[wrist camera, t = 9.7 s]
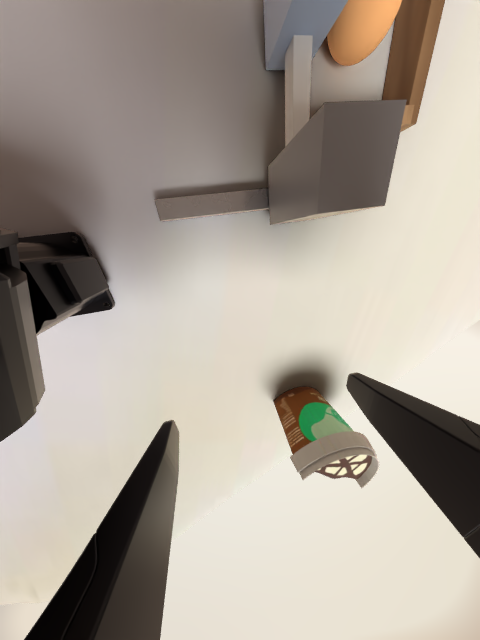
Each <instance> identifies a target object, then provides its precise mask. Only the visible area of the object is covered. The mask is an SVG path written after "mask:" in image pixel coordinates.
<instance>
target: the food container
mask: <svg viewBox="0 0 480 640" xmlns="http://www.w3.org/2000/svg"><path fill="white" fill-rule="evenodd" d="M273 402H274V404H275V407H276V410H277V412H278V415H279V418H280V421H281V423H282V426H283V429H284V432H285V434H286V437H287V440H288V443H289V445H290V448H291V451H292V454H293V455H292V456H291V457H290V458H291V460H292V462H293V464H294V466H295V468H296V469H297V472H299V473H300V475H301V477H302V479H303V480H304V479H305V478H307V477H308V476H309V475H311V474H312V473H314V472H318V473H321V474H323V475H325V476H328V477H330V478H334V479H335V478H341V477H348V478H354V479H356V481H357V482H358V484H359V485H360V487H361V488H363V487H364V486H365V485H367V483H369V481H371V480H372V478H373V477H374V476H375V475H376V473H377V471H378V469H379V461H378V459H377V457H376V453H375V451H374V449H373V448H372V446H371V444H370V443H369V441H368V439H367V438H366V437H365V436H364V435H363V434H361V433H358V432H354V431H353V430H352V429H351V428H350V426H349V425H348V424H347V423H346V422H345V421H344V420H343V419H342V418H341V416H340V415H339V414H338V413H337V412H336V411H335V410H334V409H333V408H332V406H331V405H330V404H329V403H328V402H327V401H326V400H325V399H324V398H323V396H322V395H321V394H320V393H319V392H318V391H317V390H316V389H314V388H312V387H307V386H303V387H297V388H293V389H291V390H288V391H286V392H285V393H283V394H281V395H280V396H279V397H278V398H276V399H275V400H274V401H273Z"/></svg>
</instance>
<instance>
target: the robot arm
mask: <svg viewBox="0 0 480 640" xmlns="http://www.w3.org/2000/svg"><path fill="white" fill-rule="evenodd" d="M74 236H76V237H77V238H78V242H75V240H74ZM108 288H109V286H108V284H107V281H106V279H105V277H104V275H103V273H102V271H101V268H100V266H99V264H98V262H97V260H96V259H95V258H94V257H93V256H92V254H91V252H90V249H89V247H88V245H87V243H86V241H85V239H84V237H83V236H82V235H81V234H79V233H76V232H68V233H59V234H50V235H42V236H33V237H25V238H18V233H17V232H15V231H11V230H7V229H3V228H0V442H1V441H2V440H4V439H5V438H6V437H8V436H9V435H11V434H12V433H13V432H15V431H16V430H18V429H19V428H20V427H22V426H23V425H24V424H25V423H26V422H27V421H28V420H29V419H30V418H31V417H32V416H33V415H34V414H35V413H36V406H37V405H38V404H39V402H40V400H41V398H42V396H43V394H44V392H45V386H44V379H43V373H42V367H41V361H40V355H39V349H38V343H37V337H36V336H37V335H38V334H40V333H42V332H44V331H45V330H47V329H49V328H51V327H52V326H54V325H56V324H58V323H59V322H61V321H63V320H65V319H66V318H68V317H71V316H76V315H82V314H88V313H94V312H100V311H105V310H110V309H112V308H113V307H114V305H115V304H114V301H113V299H112V297H111V294H110V292H109V290H108ZM105 302H107V303H109V304H110V306H107V305H106V303H105ZM346 386H347V389H348V391H349V392H350V394H351V395H352V397H353V398H354V400H355V401H356V403H357V404H358V406H359V407H360V409H361V410H362V411H363V413H364V415H365V416H366V417H367V419H368V420H369V421H370V423H371V424H372V425H373V426H374V428H375V429H376V430H377V431H378V433H379V434H380V435H381V436H382V437H383V439H384V440H385V441H386V442H387V444H388V445H389V446H390V447H391V449H392V450H393V451H394V452H395V454H396V455H397V456H398V457H399V459H400V460H401V461H402V462H403V464H404V465H405V466H406V467H407V468H408V470H409V471H410V472H411V473H412V475H413V476H414V477H415V478H416V480H417V481H418V482H419V483H420V485H421V486H422V487H423V488H424V489H425V491H426V492H427V493H428V495H429V496H430V497H431V498H432V499H433V501H434V502H435V503H436V504H437V506H438V507H439V508H440V509H441V510H442V512H443V513H444V514H445V516H446V517H447V518H448V519H449V521H450V522H451V523H452V524H453V525H454V527H455V528H456V529H457V530H458V532H459V533H460V534H461V535H462V536H463V537H464V539H465V541H466V542H467V543H468V544H469V546H470V547H471V548H472V549H473V551H474V552H475V553H476V554H477V555H478V557H479V558H480V425H479V424H476V423H474V422H472V421H469V420H467V419H465V418H462V417H460V416H457V415H455V414H453V413H451V412H448V411H446V410H443V409H441V408H439V407H437V406H434V405H432V404H430V403H427V402H425V401H422V400H420V399H418V398H416V397H413V396H411V395H408V394H406V393H404V392H402V391H399V390H397V389H394V388H392V387H390V386H388V385H385V384H383V383H381V382H378V381H376V380H374V379H371V378H369V377H367V376H364V375H362V374H360V373H352V374H349V375H348V380H347V385H346ZM178 471H179V431H178V428H177V426H176V424H175V422H174V420H170V421H166V422H164V423H163V424H162V426H161V428H160V429H159V431H158V432H157V434H156V436H155V437H154V439H153V440H152V442H151V444H150V445H149V447H148V448H147V450H146V452H145V453H144V455H143V456H142V458H141V460H140V461H139V463H138V464H137V466H136V468H135V469H134V471H133V472H132V474H131V476H130V477H129V479H128V481H127V482H126V484H125V485H124V487H123V489H122V490H121V492H120V493H119V495H118V497H117V498H116V500H115V501H114V503H113V505H112V506H111V508H110V509H109V511H108V513H107V514H106V516H105V517H104V519H103V521H102V522H101V524H100V525H99V527H98V529H97V531H96V533H95V534H94V535H93V536H92V538H91V540H90V541H89V543H88V545H87V546H86V548H85V549H84V551H83V552H82V554H81V556H80V557H79V559H78V560H77V562H76V563H75V565H74V566H73V568H72V570H71V571H70V573H69V574H68V576H67V577H66V579H65V580H64V582H63V583H62V585H61V586H60V588H59V589H58V591H57V592H56V594H55V595H54V597H53V598H52V600H51V601H50V603H49V604H48V606H47V607H46V609H45V610H44V612H43V613H42V614H41V616H40V618H39V619H38V620H37V622H36V623H35V625H34V626H33V627H32V629H31V630H30V632H29V633H28V635H27V636H26V638H25V639H24V640H160V635H161V634H160V633H161V625H162V617H163V608H164V599H165V590H166V580H167V573H168V564H169V555H170V545H171V537H172V528H173V519H174V510H175V502H176V493H177V484H178Z"/></svg>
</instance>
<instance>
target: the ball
mask: <svg viewBox="0 0 480 640" xmlns="http://www.w3.org/2000/svg"><path fill="white" fill-rule="evenodd" d="M401 2H402V0H348V1H347V3H346V5H345V6H344V8H343V10H342V11H341V13H340V15H339V16H338V18H337V20H336V21H335V23H334V24H333V26H332V28H331V29H330V31H329V33H328V34H327V40H328V46H329V50H330V53H331V55H332V57H333V58H334V60H335V61H336V62H337V63H339V64H341V65H344V66H350V65H354V64H356V63H359V62H360V61H362V60H363V59H365V58H366V57H367V56H368V55H370V54H371V53H372V52H373V51H374V50H375V49H376V47H377V46H378V45H379V44H380V42H381V41H382V39H383V38H384V37H385V35H386V34H387V32H388V30H389V29H390V27H391V25H392V23H393V21H394V19H395V17H396V15H397V12H398V10H399V8H400V5H401Z"/></svg>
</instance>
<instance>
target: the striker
mask: <svg viewBox="0 0 480 640" xmlns="http://www.w3.org/2000/svg"><path fill="white" fill-rule="evenodd" d="M263 1H264V29H265V58H266V70H285V148H284V149H283V150H282V151H281V152H280V153H279V155H278V156H277V157H276V158H275V159H274V160H273V161H272V162H271V164H270V165H269V166H268V185H269V211H270V225H273V224H281V223H289V222H296V221H304V220H312V219H317V218H322V217H328V216H333V215H338V214H343V213H349V212H354V211H359V210H364V209H369V208H375V207H380V206H385V202H386V197H387V192H388V187H389V182H390V178H391V173H392V168H393V163H394V158H395V154H396V149H397V144H398V139H399V135H400V130H401V125H402V120H403V115H404V111H405V106H406V101H407V100H379V101H350V102H325V103H324V104H323V105H322V106H321V107H320V109H319V110H318V111H317V112H316V113H315V114H314V115H313V116H312V118H311V119H310V120H309V116H310V91H311V66H312V59H313V57H314V56H315V54H316V52H317V51H318V49H319V47H320V46H321V44H322V43H323V41H324V39H325V38H326V36H327V34H328V33H329V31H330V29H331V28H332V26H333V24H334V23H335V21H336V20H337V18H338V16H339V15H340V13H341V11H342V10H343V8H344V6H345V5H346V3H347V1H348V0H263Z"/></svg>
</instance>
